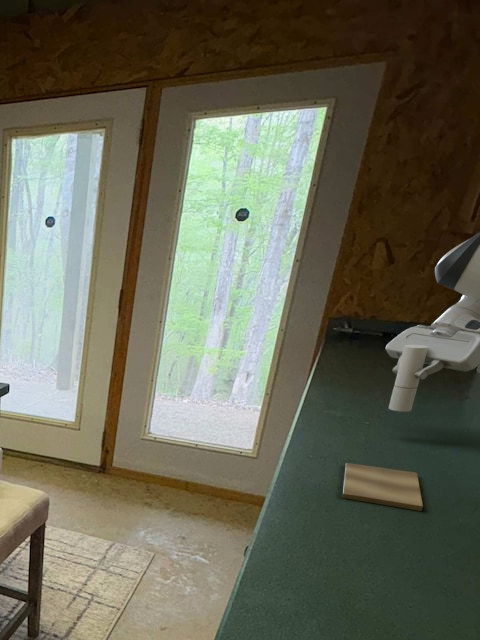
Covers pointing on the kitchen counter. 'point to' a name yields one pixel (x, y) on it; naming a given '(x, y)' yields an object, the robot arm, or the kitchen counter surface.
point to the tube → (407, 378)
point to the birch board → (382, 486)
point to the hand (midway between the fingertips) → (406, 375)
